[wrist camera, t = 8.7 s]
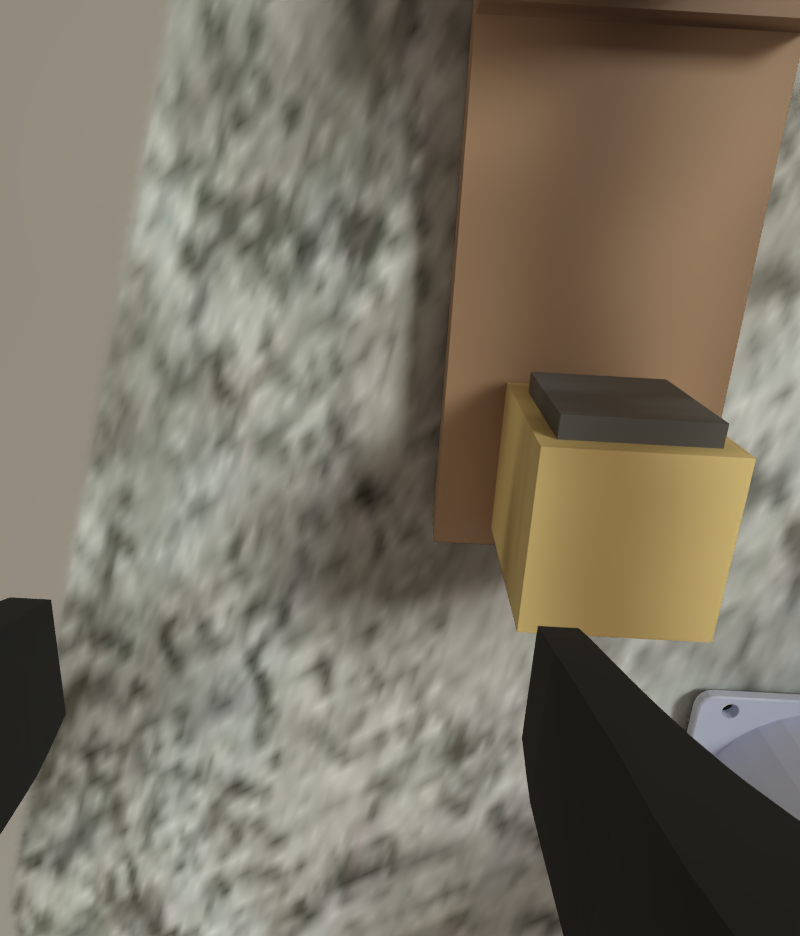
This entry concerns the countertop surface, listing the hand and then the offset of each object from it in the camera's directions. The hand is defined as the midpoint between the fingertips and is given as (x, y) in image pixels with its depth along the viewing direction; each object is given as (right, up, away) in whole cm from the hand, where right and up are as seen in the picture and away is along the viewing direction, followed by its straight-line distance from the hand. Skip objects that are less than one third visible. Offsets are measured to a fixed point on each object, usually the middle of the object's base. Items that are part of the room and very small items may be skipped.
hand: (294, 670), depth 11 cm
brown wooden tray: (+7, +11, +7) cm, 14 cm away
